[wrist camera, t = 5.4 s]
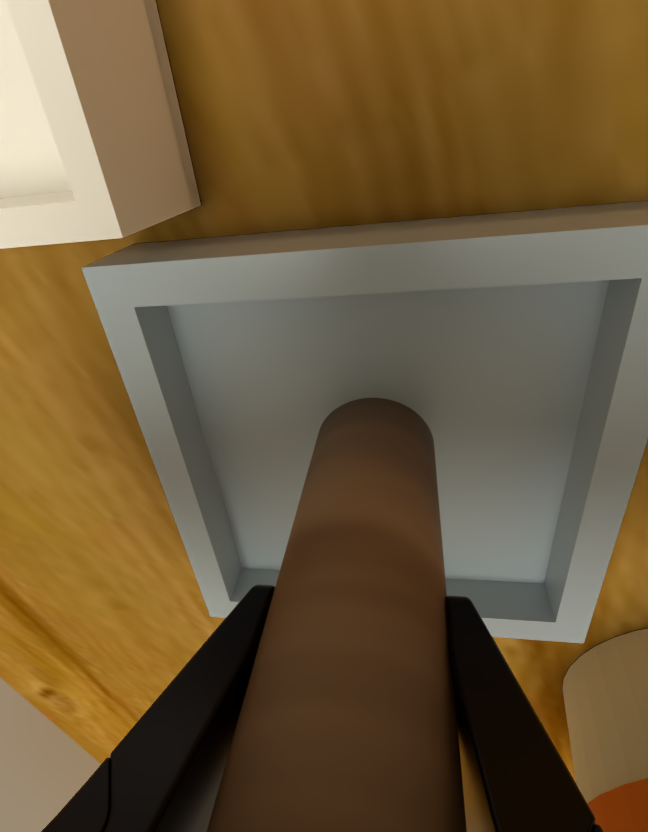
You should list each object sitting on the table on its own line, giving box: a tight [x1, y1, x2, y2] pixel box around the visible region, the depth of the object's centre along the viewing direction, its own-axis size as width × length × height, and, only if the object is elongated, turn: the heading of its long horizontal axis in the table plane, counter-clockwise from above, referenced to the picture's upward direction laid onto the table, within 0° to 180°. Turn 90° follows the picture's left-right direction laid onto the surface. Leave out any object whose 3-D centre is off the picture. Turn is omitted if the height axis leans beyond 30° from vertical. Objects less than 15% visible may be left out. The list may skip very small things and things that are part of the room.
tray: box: [81, 201, 648, 643], centre depth 14 cm, size 13×13×2 cm
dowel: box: [207, 398, 467, 832], centre depth 9 cm, size 3×3×9 cm
